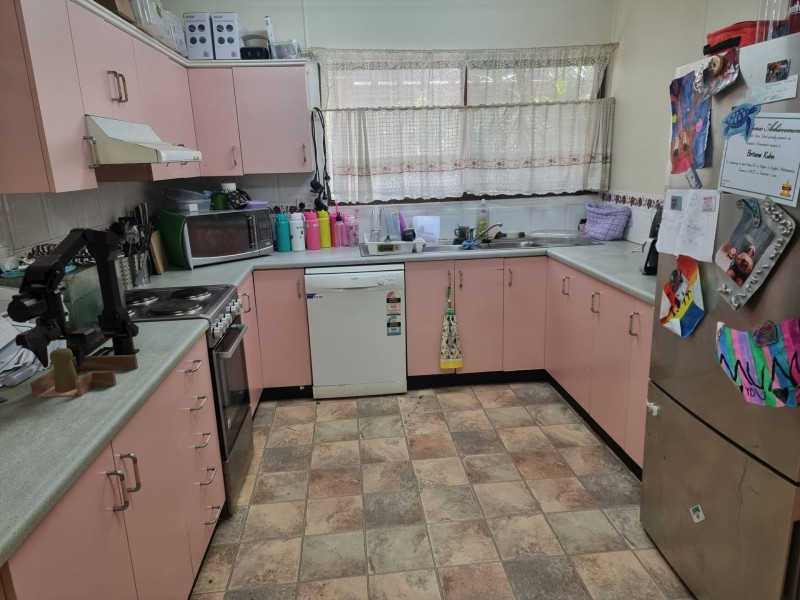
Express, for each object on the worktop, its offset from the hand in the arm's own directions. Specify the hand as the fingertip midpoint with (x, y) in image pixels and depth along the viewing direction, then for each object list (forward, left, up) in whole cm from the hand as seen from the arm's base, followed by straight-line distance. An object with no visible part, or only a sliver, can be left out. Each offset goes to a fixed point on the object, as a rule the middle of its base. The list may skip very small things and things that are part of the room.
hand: (63, 366), depth 141 cm
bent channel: (-5, +3, -6) cm, 9 cm away
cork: (0, 0, -6) cm, 6 cm away
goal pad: (0, 0, -6) cm, 7 cm away
